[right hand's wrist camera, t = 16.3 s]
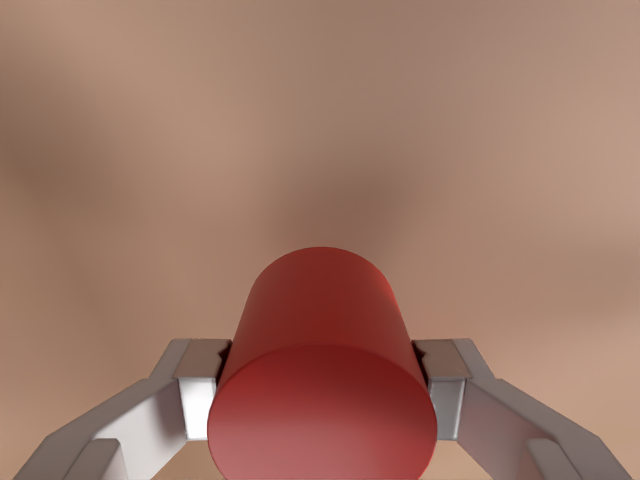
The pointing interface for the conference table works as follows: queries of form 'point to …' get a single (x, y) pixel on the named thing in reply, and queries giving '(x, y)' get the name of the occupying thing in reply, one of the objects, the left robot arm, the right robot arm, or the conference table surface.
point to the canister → (321, 378)
